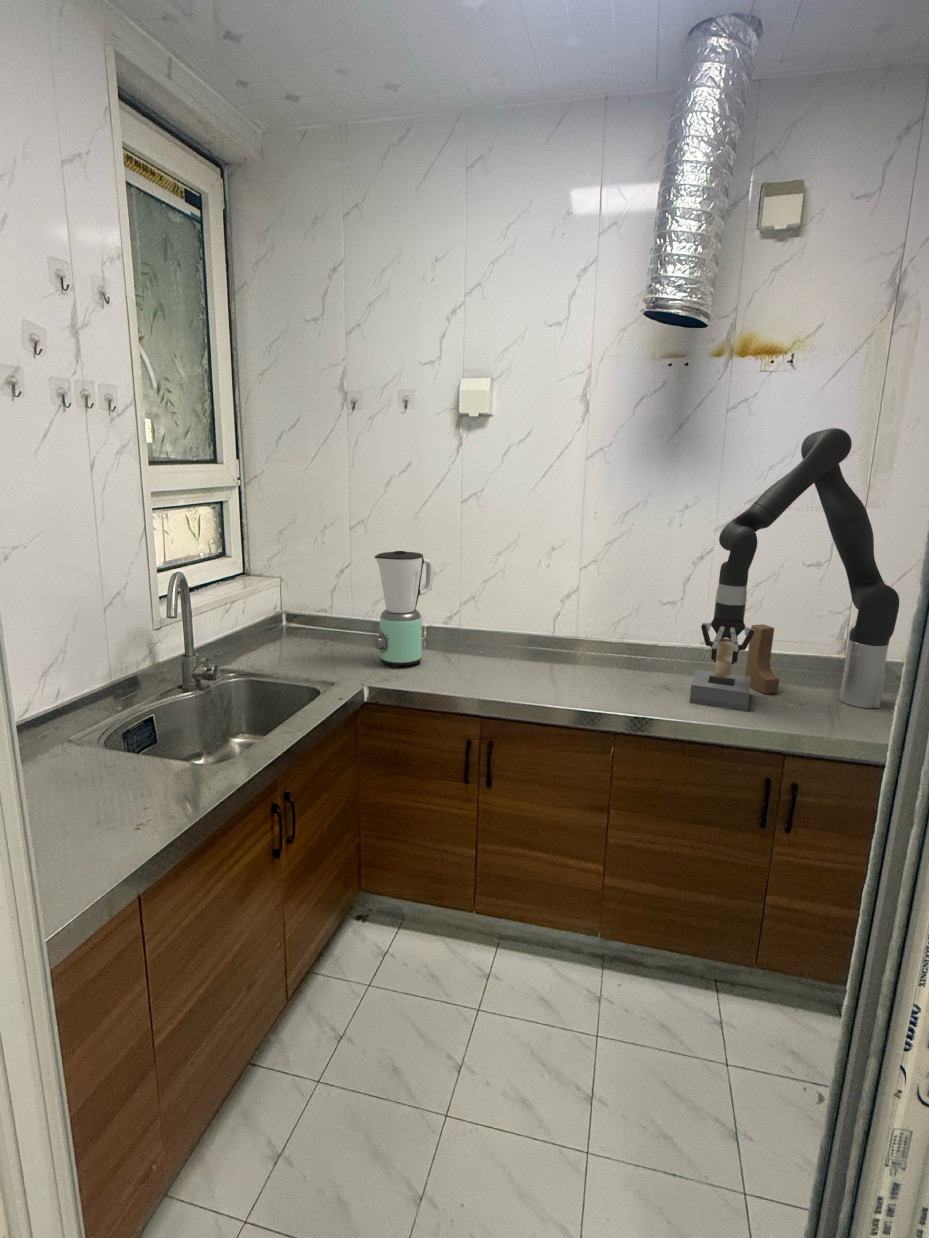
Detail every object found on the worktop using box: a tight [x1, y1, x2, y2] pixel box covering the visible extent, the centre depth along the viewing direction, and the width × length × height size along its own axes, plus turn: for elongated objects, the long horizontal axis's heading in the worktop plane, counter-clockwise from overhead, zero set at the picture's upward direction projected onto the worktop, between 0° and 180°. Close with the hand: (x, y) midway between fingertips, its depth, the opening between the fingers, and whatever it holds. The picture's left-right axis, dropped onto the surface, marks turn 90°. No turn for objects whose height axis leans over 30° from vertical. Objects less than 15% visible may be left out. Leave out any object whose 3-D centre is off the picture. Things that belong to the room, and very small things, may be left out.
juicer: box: [373, 550, 433, 669], centre depth 210 cm, size 19×13×35 cm
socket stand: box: [689, 669, 751, 712], centre depth 187 cm, size 14×14×5 cm
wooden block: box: [744, 623, 780, 695], centre depth 193 cm, size 9×4×18 cm, turn 16°
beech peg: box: [713, 638, 734, 679], centre depth 185 cm, size 4×4×10 cm
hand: (723, 662), depth 185 cm, fingers closed on beech peg, 4 cm apart
